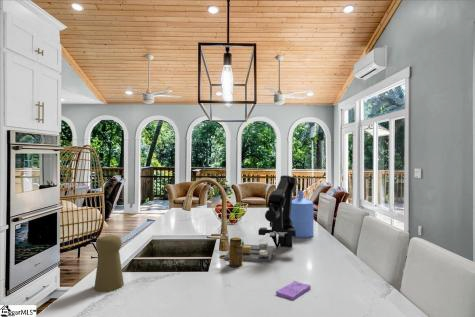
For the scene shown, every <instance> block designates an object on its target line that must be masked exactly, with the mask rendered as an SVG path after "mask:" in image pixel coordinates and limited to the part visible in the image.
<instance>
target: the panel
mask: <svg viewBox="0 0 475 317" xmlns="http://www.w3.org/2000/svg"><path fill="white" fill-rule="evenodd" d="M243 246H251V253H250V254H248V253H242V262H252V263H253V262H254V263H256V262H257V263H271V261H272V260H273V259H272V258H273V255H274V252H275V248H276V246H275V245H268V249H267V251H268V255H265V257H262V255H259V251H260V250H259V244H258V245H257V244H245V241H243V242H242V247H243ZM224 260H225V261H229V251H228V252H227V253H226V255H224Z"/></svg>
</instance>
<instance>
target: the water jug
mask: <svg viewBox="0 0 475 317" xmlns="http://www.w3.org/2000/svg"><path fill="white" fill-rule="evenodd" d="M297 192H298V193H297V197H296V198H294V199H292V205H291V216H290V218H291V220H292V222H293V226H294V229H295V230H296V236H292V238H293V237H294V238H299V239H301V238H302V239H306V238H312V237H313V236H314V235H315V234H314V232H315V231H314V220H315V219H314V202H313V201H311V200H309V199H307V198H305V197H304V191H303V190H298V191H297Z"/></svg>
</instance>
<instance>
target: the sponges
mask: <svg viewBox="0 0 475 317" xmlns="http://www.w3.org/2000/svg"><path fill="white" fill-rule="evenodd" d="M311 288H312V287H311V284H307V283H303V282H300V281H297V280H293V281H292V282H289V284H287V285H284V286H283V287H281V288H279V289H276V290H275V294H276V295H277V296H278V297H282V298H285V299H287V300H288V299H289V300H291V301H293V300H296V299H297V298H299V297H300V296H302V295H303V294H305V293H307V292H308V291H310V290H311Z"/></svg>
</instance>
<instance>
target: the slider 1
mask: <svg viewBox="0 0 475 317" xmlns="http://www.w3.org/2000/svg"><path fill="white" fill-rule="evenodd" d="M242 253H248V254H250V253H251V246H243V247H242Z"/></svg>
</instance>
